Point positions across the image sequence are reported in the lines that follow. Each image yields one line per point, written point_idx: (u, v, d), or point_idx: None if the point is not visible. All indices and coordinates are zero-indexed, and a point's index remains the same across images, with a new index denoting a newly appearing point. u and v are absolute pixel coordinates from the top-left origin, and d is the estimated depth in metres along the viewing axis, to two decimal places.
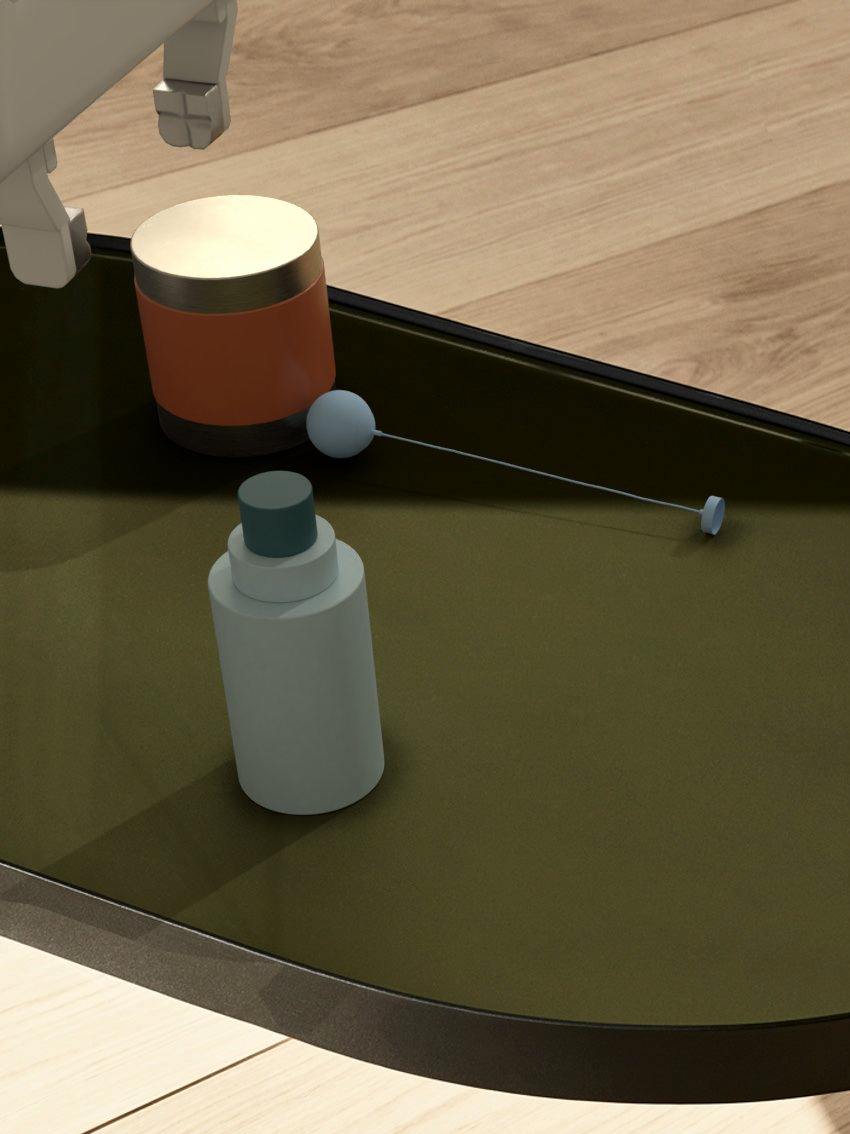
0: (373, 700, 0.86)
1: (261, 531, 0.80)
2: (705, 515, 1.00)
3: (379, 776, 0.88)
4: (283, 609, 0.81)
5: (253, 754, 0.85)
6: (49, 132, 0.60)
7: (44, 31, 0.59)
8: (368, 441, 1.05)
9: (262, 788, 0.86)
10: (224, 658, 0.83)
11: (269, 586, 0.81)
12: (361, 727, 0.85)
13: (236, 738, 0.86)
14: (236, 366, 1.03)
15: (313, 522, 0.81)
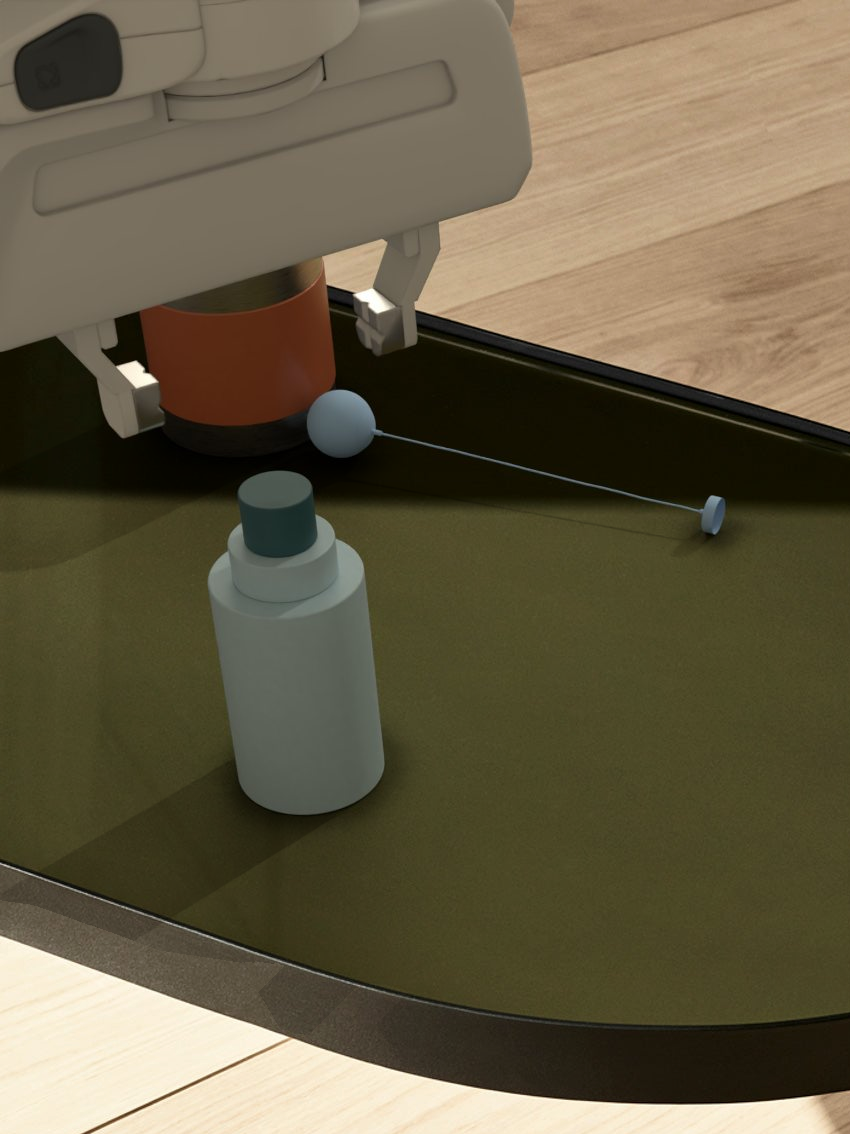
0: (373, 700, 0.86)
1: (261, 531, 0.80)
2: (705, 515, 1.00)
3: (379, 776, 0.88)
4: (283, 609, 0.81)
5: (253, 754, 0.85)
6: (81, 320, 0.71)
7: (85, 241, 0.69)
8: (368, 441, 1.05)
9: (262, 788, 0.86)
10: (224, 658, 0.83)
11: (269, 586, 0.81)
12: (361, 727, 0.85)
13: (236, 738, 0.86)
14: (236, 366, 1.03)
15: (313, 522, 0.81)
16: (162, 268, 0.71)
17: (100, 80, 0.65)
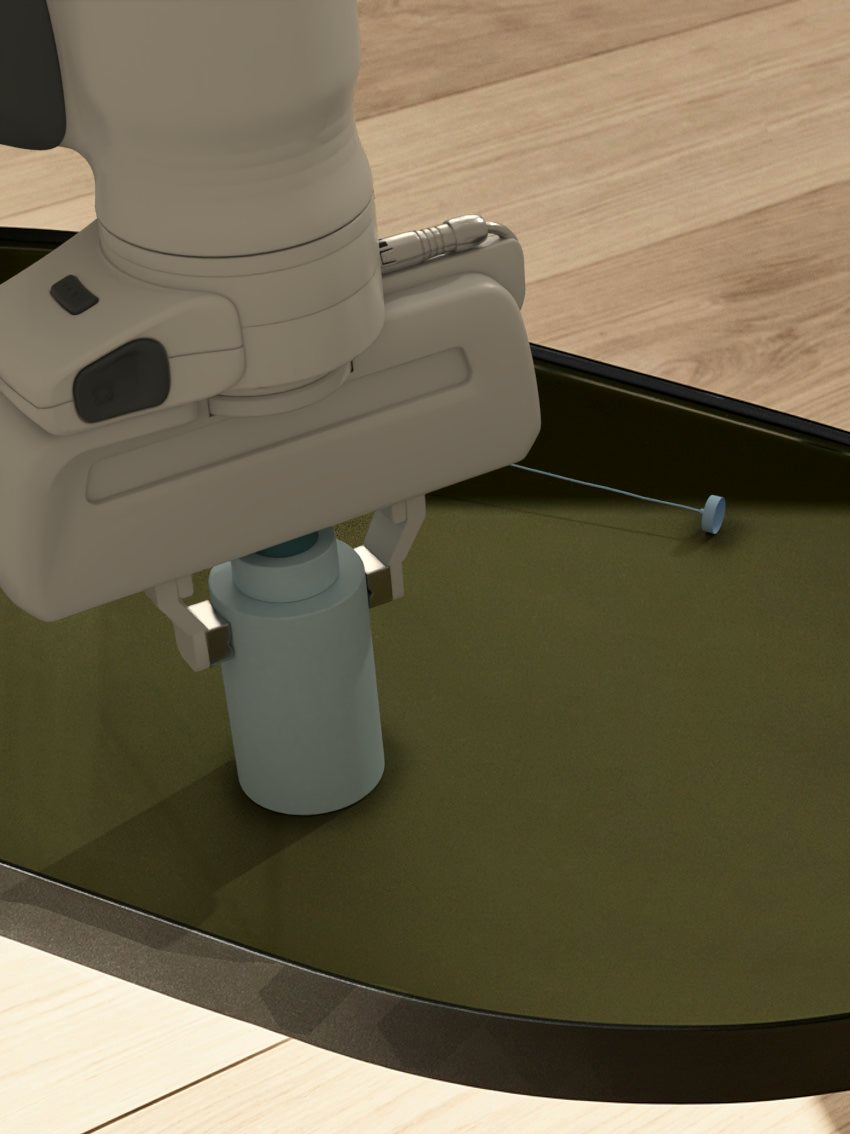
0: (373, 700, 0.86)
1: None
2: (706, 514, 1.00)
3: (379, 776, 0.88)
4: (284, 609, 0.81)
5: (254, 754, 0.85)
6: (127, 590, 0.77)
7: (132, 524, 0.76)
8: None
9: (262, 788, 0.86)
10: None
11: (270, 586, 0.81)
12: (362, 727, 0.85)
13: (236, 738, 0.86)
14: None
15: None
16: (201, 541, 0.78)
17: (150, 393, 0.72)
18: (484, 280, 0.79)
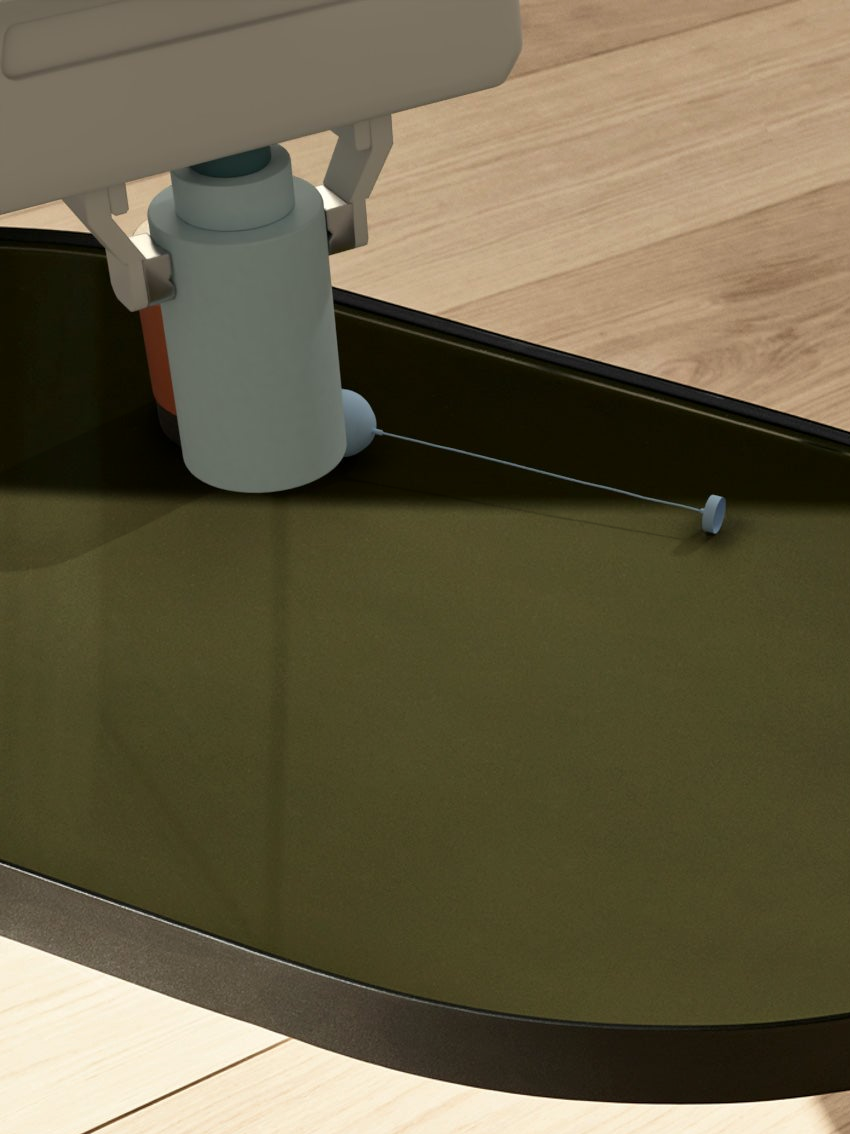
0: (333, 362, 0.77)
1: None
2: (706, 514, 1.00)
3: (340, 456, 0.79)
4: (232, 237, 0.72)
5: (199, 419, 0.76)
6: (50, 193, 0.68)
7: (56, 109, 0.67)
8: (369, 440, 1.05)
9: (208, 461, 0.77)
10: (166, 302, 0.74)
11: (215, 210, 0.72)
12: (320, 390, 0.76)
13: (180, 403, 0.77)
14: None
15: None
16: (136, 141, 0.69)
17: None
18: None
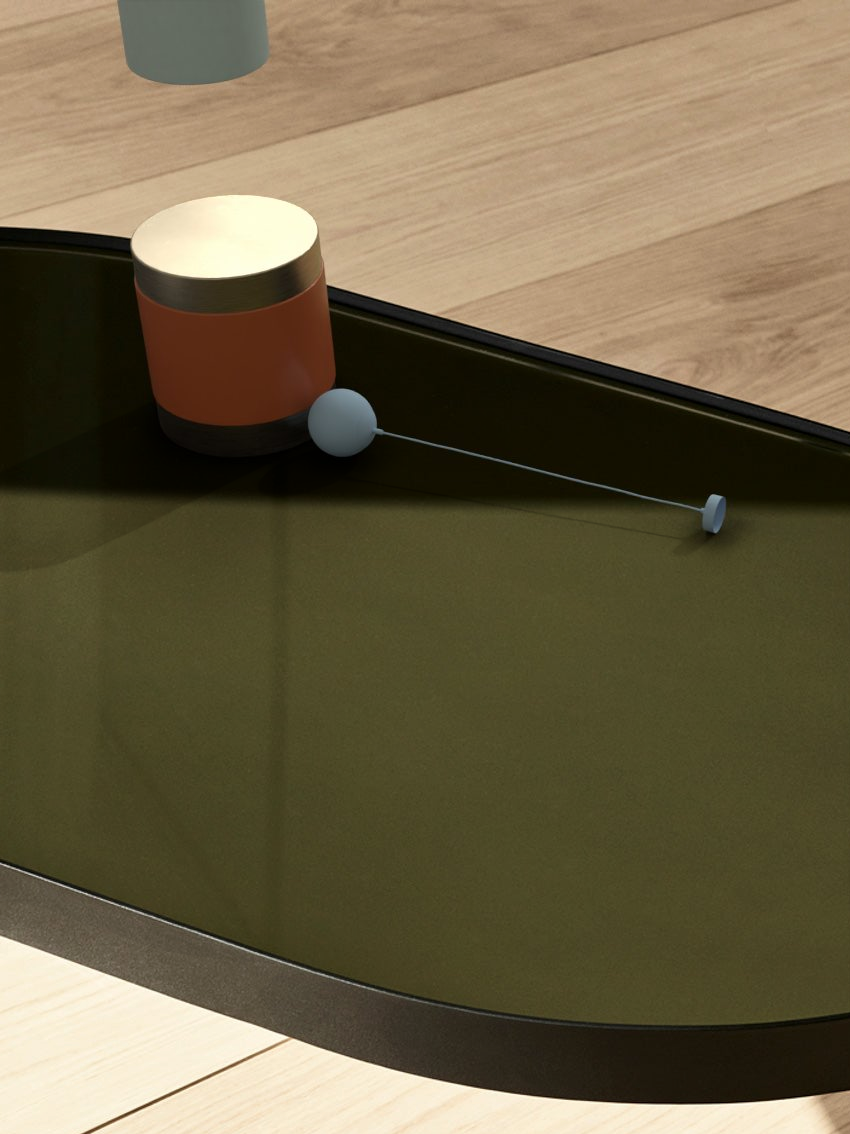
0: None
1: None
2: (706, 514, 1.00)
3: (263, 59, 0.90)
4: None
5: (137, 15, 0.87)
6: None
7: None
8: (369, 440, 1.05)
9: (146, 56, 0.88)
10: None
11: None
12: None
13: (121, 3, 0.88)
14: (236, 366, 1.03)
15: None
16: None
17: None
18: None
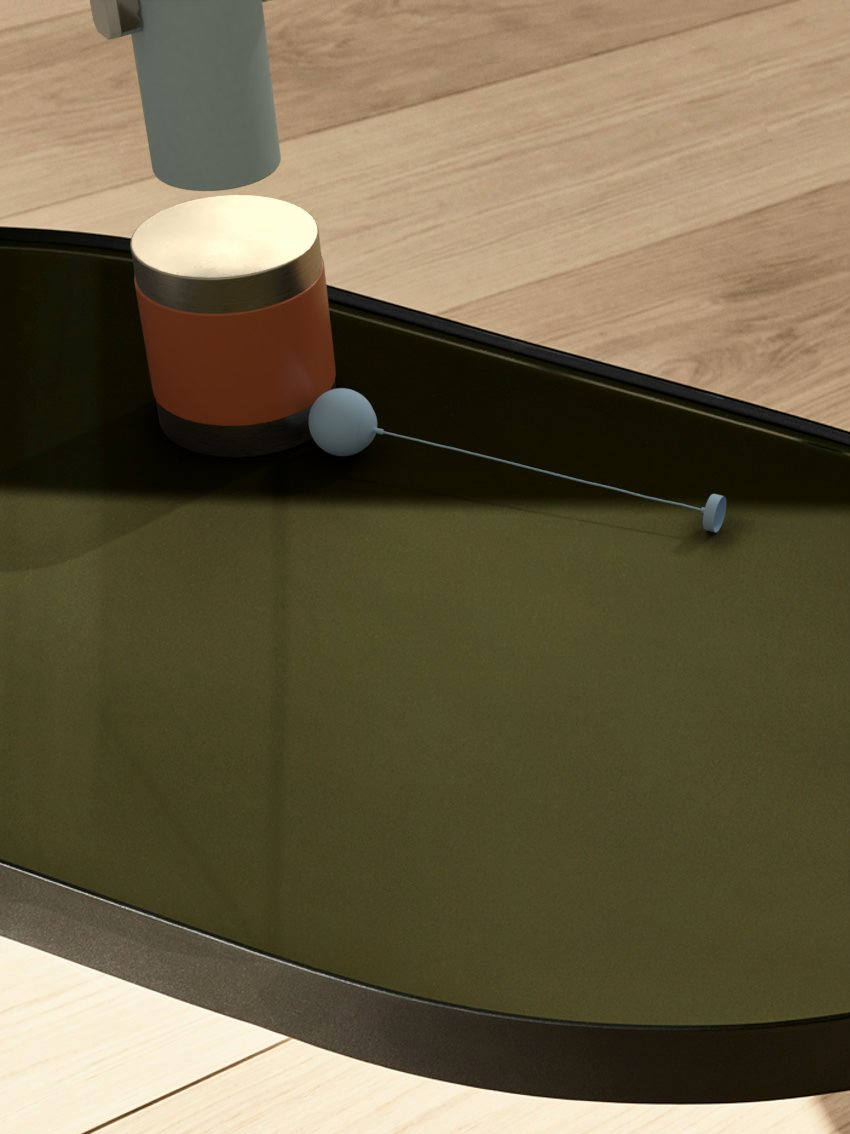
0: (267, 86, 0.99)
1: None
2: (707, 513, 1.00)
3: (275, 166, 1.01)
4: None
5: (163, 130, 0.98)
6: None
7: None
8: (370, 439, 1.05)
9: (171, 166, 0.99)
10: (135, 34, 0.96)
11: None
12: (257, 107, 0.98)
13: (148, 120, 0.98)
14: (236, 366, 1.03)
15: None
16: None
17: None
18: None
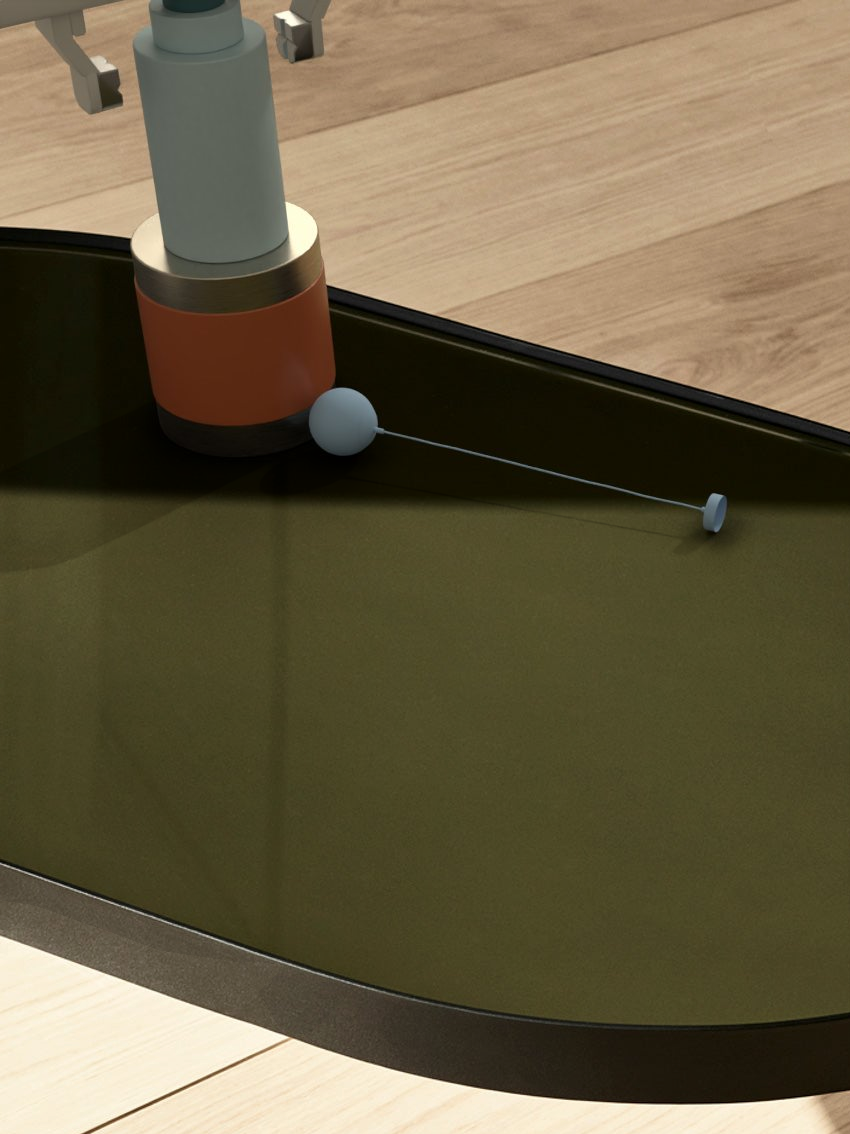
0: (276, 161, 1.01)
1: None
2: (707, 513, 1.00)
3: (283, 237, 1.03)
4: (196, 58, 0.96)
5: (173, 204, 1.00)
6: (57, 8, 0.92)
7: None
8: (370, 439, 1.05)
9: (182, 238, 1.01)
10: (147, 112, 0.98)
11: (183, 37, 0.96)
12: (266, 182, 1.00)
13: (159, 193, 1.01)
14: (236, 366, 1.03)
15: None
16: None
17: None
18: None
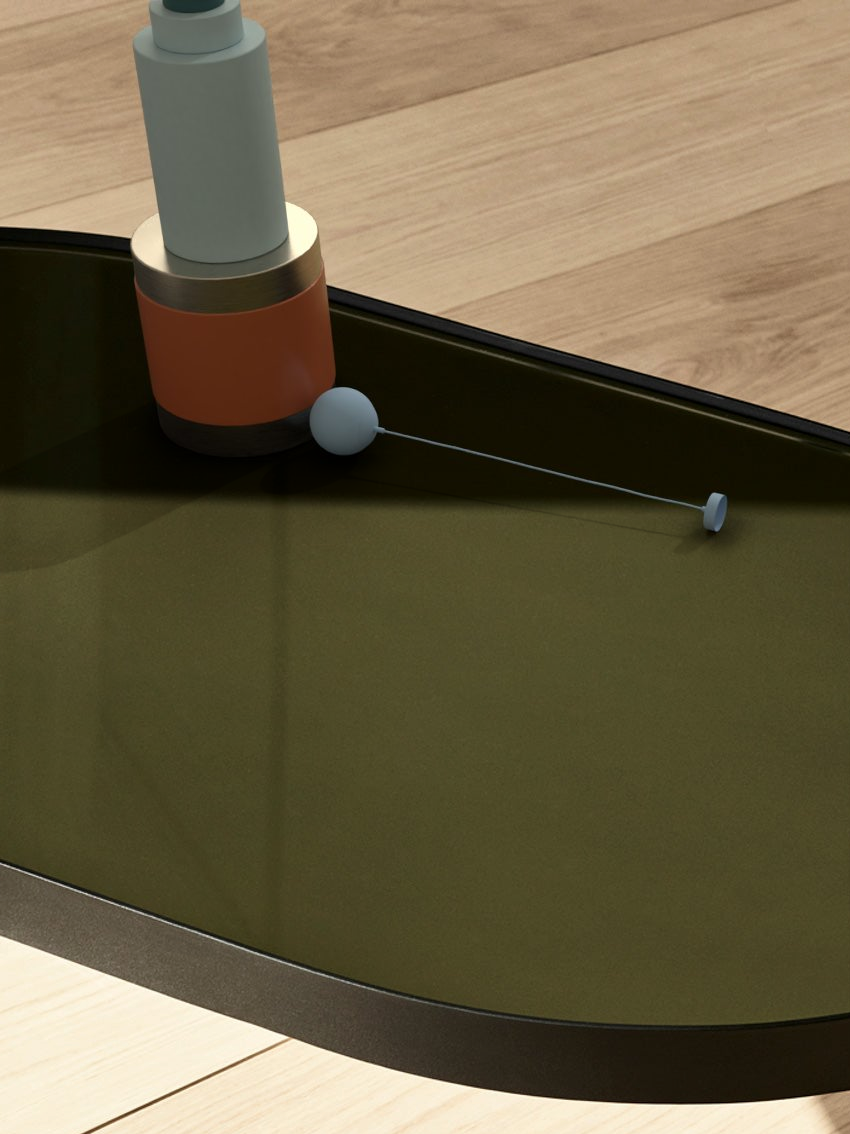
0: (276, 161, 1.01)
1: None
2: (707, 512, 1.00)
3: (283, 237, 1.03)
4: (196, 58, 0.96)
5: (173, 204, 1.00)
6: None
7: None
8: (371, 438, 1.05)
9: (182, 238, 1.01)
10: (147, 112, 0.98)
11: (183, 37, 0.96)
12: (266, 182, 1.00)
13: (159, 193, 1.01)
14: (236, 366, 1.03)
15: None
16: None
17: None
18: None
